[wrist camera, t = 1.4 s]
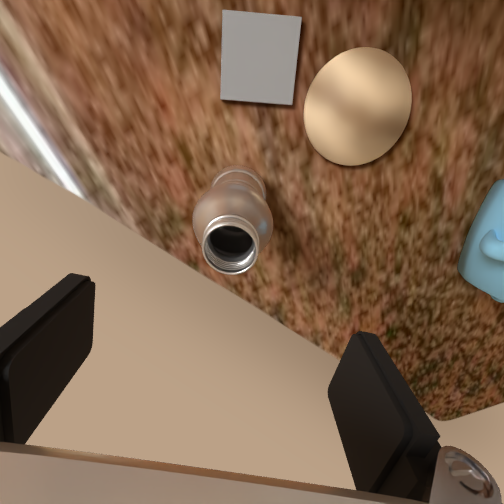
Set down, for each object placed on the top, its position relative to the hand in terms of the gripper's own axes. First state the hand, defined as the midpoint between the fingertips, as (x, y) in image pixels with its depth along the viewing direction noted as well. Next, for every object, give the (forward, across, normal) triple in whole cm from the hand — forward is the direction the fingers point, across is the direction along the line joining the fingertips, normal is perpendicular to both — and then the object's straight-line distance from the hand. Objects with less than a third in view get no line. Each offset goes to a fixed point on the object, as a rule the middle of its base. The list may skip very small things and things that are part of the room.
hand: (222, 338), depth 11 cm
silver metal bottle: (+29, 0, 0) cm, 29 cm away
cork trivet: (+29, -11, -12) cm, 33 cm away
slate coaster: (+29, +1, -14) cm, 32 cm away
